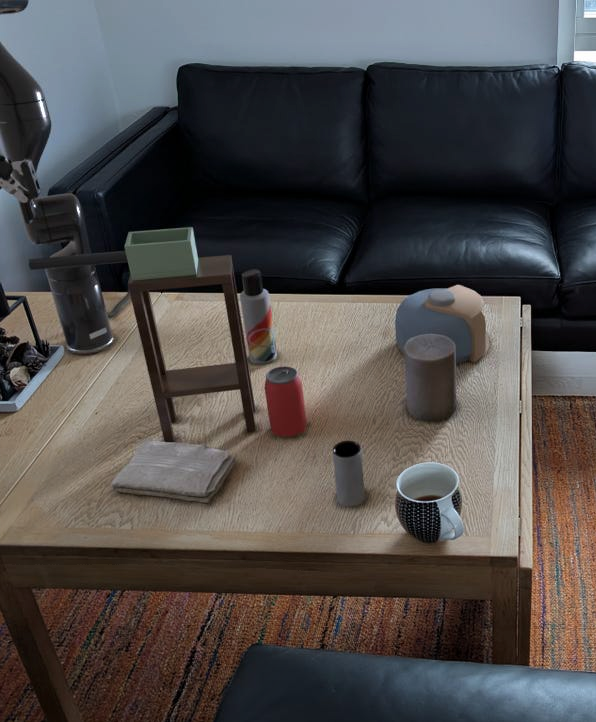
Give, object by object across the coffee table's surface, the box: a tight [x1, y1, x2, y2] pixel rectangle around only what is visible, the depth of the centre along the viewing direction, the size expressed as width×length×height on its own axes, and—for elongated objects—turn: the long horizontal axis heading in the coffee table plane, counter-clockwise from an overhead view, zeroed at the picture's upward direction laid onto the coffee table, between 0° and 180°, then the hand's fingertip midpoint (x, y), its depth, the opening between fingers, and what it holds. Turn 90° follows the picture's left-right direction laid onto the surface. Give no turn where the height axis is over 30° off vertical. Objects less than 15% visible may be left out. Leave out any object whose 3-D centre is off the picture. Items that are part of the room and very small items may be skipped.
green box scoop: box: [28, 226, 199, 281], centre depth 134 cm, size 6×25×6 cm, turn 104°
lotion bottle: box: [239, 268, 278, 365], centre depth 170 cm, size 6×6×20 cm
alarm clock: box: [394, 284, 490, 364], centre depth 178 cm, size 19×20×12 cm
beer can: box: [264, 365, 308, 439], centre depth 151 cm, size 7×7×12 cm
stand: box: [127, 254, 257, 443], centre depth 146 cm, size 8×16×32 cm, turn 104°
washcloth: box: [110, 440, 237, 504], centre depth 141 cm, size 12×18×3 cm, turn 82°
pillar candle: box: [403, 334, 457, 422], centre depth 157 cm, size 10×10×15 cm
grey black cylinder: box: [332, 439, 366, 508], centre depth 135 cm, size 4×4×10 cm
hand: (1, 224), depth 137 cm, fingers open, 8 cm apart
